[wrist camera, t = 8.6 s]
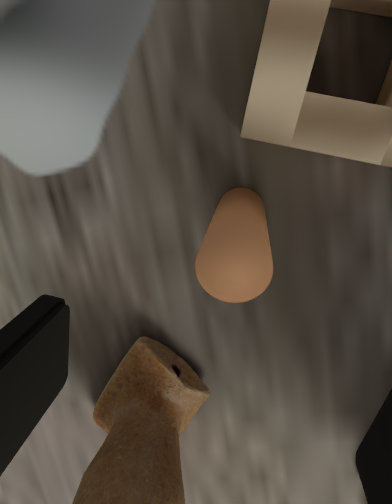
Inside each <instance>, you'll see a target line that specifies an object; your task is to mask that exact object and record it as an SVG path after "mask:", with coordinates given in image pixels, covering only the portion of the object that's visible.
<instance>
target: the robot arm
mask: <svg viewBox="0 0 392 504" xmlns="http://www.w3.org/2000/svg"><path fill="white" fill-rule="evenodd" d="M69 316H70V308H69V306H68V305H65V301H64V299H62V298H58V297H54V296H50V295H46V294H45V295H42V296H40V297H39V298H38V299H37V300H35V301H34V302H33V303H32V304H31V305H29V306H28V307H27V308H26V309H25V310H23V311H22V312H21V313H20V314H19V315H17V316H16V317H15V318H14V319H13V320H11V321H10V322H9V323H8V324H7V325H5V326H4V327H3V328H2V329H1V330H0V476H1V474H2V473H3V472H4V470H5V469H6V467H7V466H8V465H9V463H10V462H11V460H12V459H13V457H14V456H15V455H16V453H17V452H18V450H19V449H20V447H21V446H22V445H23V443H24V442H25V440H26V439H27V438H28V436H29V435H30V433H31V432H32V430H33V429H34V428H35V426H36V425H37V423H38V422H39V420H40V419H41V418H42V416H43V415H44V413H45V412H46V411H47V409H48V408H49V406H50V405H51V403H52V402H53V401H54V399H55V398H56V396H57V395H58V393H59V392H60V391H61V389H62V388H63V386H64V384H65V382H66V380H67V376H68V351H69ZM356 465H357V469H358V472H359V475H360V479H361V482H362V485H363V488H364V492H365V495H366V498H367V501H368V504H392V389H391V391H390V393H389V394H388V396H387V398H386V400H385V401H384V403H383V405H382V407H381V409H380V410H379V412H378V414H377V416H376V418H375V419H374V421H373V423H372V425H371V426H370V428H369V430H368V432H367V434H366V435H365V437H364V439H363V441H362V442H361V444H360V446H359V448H358V450H357V452H356Z"/></svg>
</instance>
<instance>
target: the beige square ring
mask: <svg viewBox="0 0 392 504" xmlns="http://www.w3.org/2000/svg"><path fill="white" fill-rule="evenodd" d="M329 7H331V8H337V9H343V10H349V11H355V12H362V13H368V14H374V15H380V16H386V17H392V0H270V3H269V8H268V12H267V17H266V21H265V26H264V31H263V35H262V40H261V44H260V49H259V53H258V58H257V62H256V67H255V71H254V76H253V80H252V85H251V89H250V94H249V98H248V103H247V108H246V112H245V117H244V121H243V126H242V130H241V135H240V137H242V138H247V139H252V140H257V141H262V142H267V143H272V144H277V145H282V146H287V147H292V148H297V149H302V150H307V151H312V152H317V153H322V154H327V155H332V156H337V157H342V158H347V159H352V160H357V161H362V162H367V163H372V164H377V165H382V166H387V167H392V60H391V63H390V66H389V68H388V71H387V74H386V77H385V80H384V82H383V85H382V88H381V91H380V93H379V96H378V99H377V102H376V104H371V103H366V102H361V101H355V100H350V99H344V98H339V97H334V96H328V95H323V94H318V93H312V92H307V91H306V88H307V85H308V81H309V78H310V74H311V70H312V67H313V63H314V60H315V56H316V53H317V49H318V46H319V42H320V38H321V35H322V31H323V28H324V24H325V21H326V17H327V14H328V10H329Z"/></svg>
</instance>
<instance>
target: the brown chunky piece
mask: <svg viewBox="0 0 392 504" xmlns="http://www.w3.org/2000/svg"><path fill="white" fill-rule="evenodd" d="M209 393H210V392H209V389H208V388H207V386H206V385H205V384H204V383H203V382H202V381H201V379H200V378H199V376H198V375H197V373H196V372H195V371H193V369H192V368H191V367H190V366H189V365H188V364H187V363H186V362H185V361H184V360H183V359H182V358H181V357H179V356H178V355H176V353H175V352H173V351H172V350H171V349H170V348H168V347H167V346H165V345H163V344H161V343H160V342H158V341H156V340H153V339H151V338H149V337H146V336H144V337H140V338H138V339H137V341H136V342H135V343H134V344H133V346H132V347H131V348H130V350H129V351H128V353H127V354H126V355H125V357H124V358H123V359H122V361H121V363H120V364H119V366H118V367H117V369H116V371H115V372H114V374H113V375H112V377H111V378H110V380H109V382H108V383H107V385H106V386H105V388H104V390H103V392H102V393H101V395H100V397H99V399H98V401H97V403H96V405H95V408H94V412H93V418H94V421H95V422H96V423H97V425H99V426H100V427H101V428H102V429H104V430H105V431H106V432H107V433H109V434H108V436H107V438H106V439H105V441H104V443H103V445H102V446H101V448H100V450H99V451H98V453H97V454H96V456H95V457H94V459H93V460H92V462H91V463H90V465H89V466H88V468H87V470H86V471H85V473H84V475H83V477H82V480H81V483H80V485H79V488H78V490H77V493H76V495H75V498H74V501H73V504H185V497H184V488H183V481H182V471H181V461H180V448H179V434H180V433H181V432H182V431H183V430H184V429H185V427H186V426H187V425H188V423H189V422H190V420H191V419H192V418H193V416H194V415H195V414H196V412H197V411H198V409H199V408H200V406H201V405H202V404H203V403H204V401H205V400H206V399H207V398H208V396H209Z"/></svg>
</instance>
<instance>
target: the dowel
mask: <svg viewBox="0 0 392 504" xmlns="http://www.w3.org/2000/svg"><path fill="white" fill-rule="evenodd" d="M195 271H196V276H197V279H198V281H199V283H200V284H201V286H202V287H203V288H204V290H205V291H206V292H207V293H209V294H210V295H211V296H213V297H215V298H217V299H219V300H221V301H225V302H230V303H240V302H246V301H249V300H251V299H254V298H256V297H257V296H259V295H260V294H261V293H262V292H263V291H264V290H265V289H266V288H267V287H268V285H269V283H270V281H271V279H272V275H273V260H272V254H271V247H270V241H269V234H268V228H267V221H266V215H265V208H264V203H263V201H262V199H261V197H260V196H259V195H258V194H257V193H256V192H255V191H253V190H251V189H249V188H244V187H238V188H234V189H231V190H229V191H227V192H226V193H225V194H224V195H223V196H222V197H221V199H220V201H219V203H218V205H217V208H216V210H215V213H214V215H213V217H212V220H211V222H210V225H209V227H208V230H207V232H206V234H205V237H204V239H203V242H202V244H201V247H200V249H199V251H198V254H197V257H196V261H195Z"/></svg>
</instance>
